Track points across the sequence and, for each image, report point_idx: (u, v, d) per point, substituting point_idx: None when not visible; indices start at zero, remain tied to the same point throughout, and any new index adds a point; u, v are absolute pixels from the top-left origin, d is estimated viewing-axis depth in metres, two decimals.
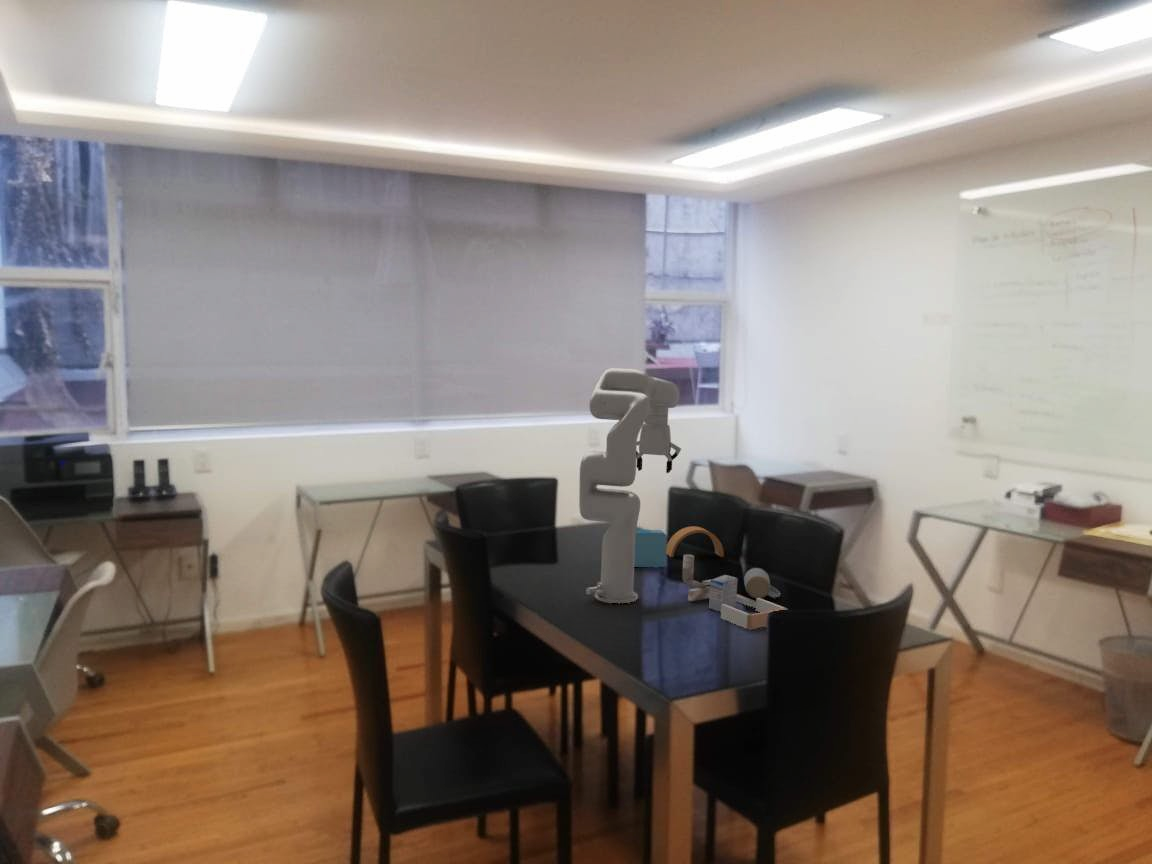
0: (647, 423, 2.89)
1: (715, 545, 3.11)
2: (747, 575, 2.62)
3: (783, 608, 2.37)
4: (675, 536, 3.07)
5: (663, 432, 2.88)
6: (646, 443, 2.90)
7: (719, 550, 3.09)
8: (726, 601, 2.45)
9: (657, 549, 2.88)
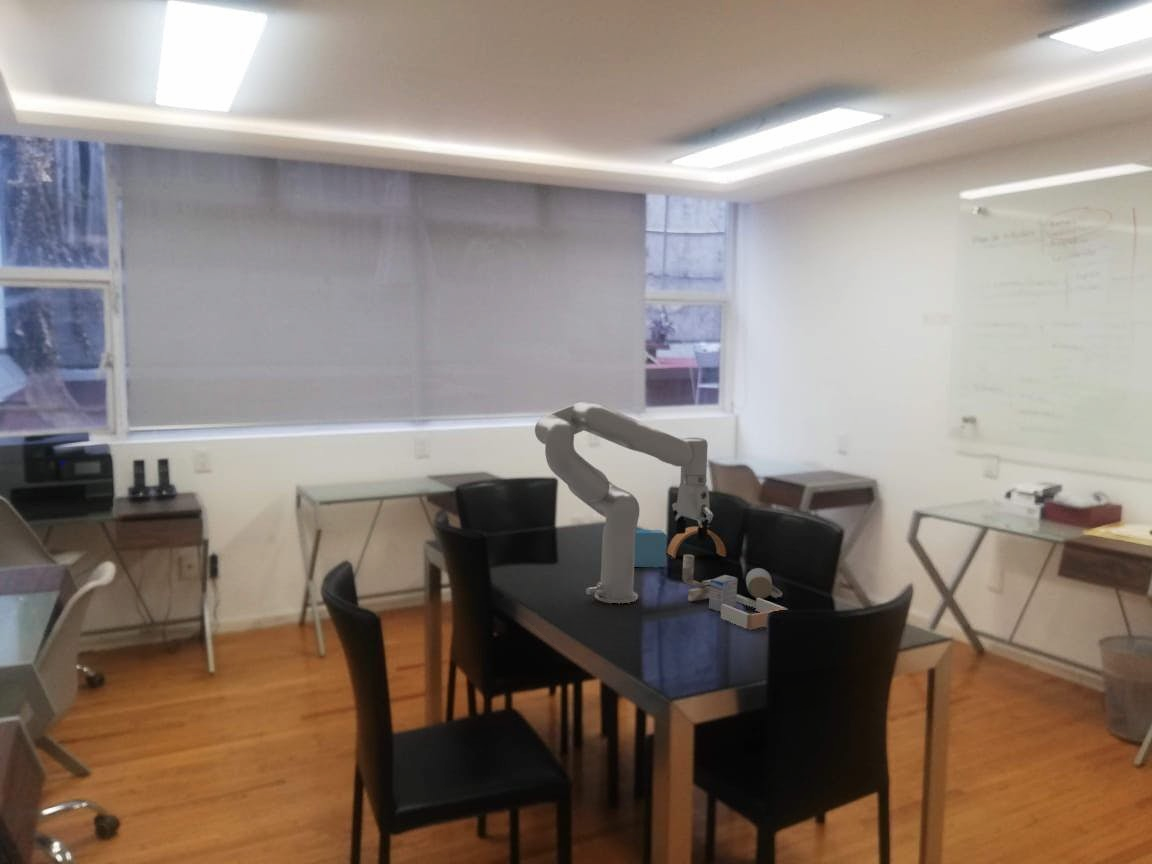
0: None
1: (717, 545, 3.11)
2: (749, 575, 2.62)
3: (783, 608, 2.37)
4: (677, 536, 3.07)
5: None
6: None
7: (721, 550, 3.09)
8: (726, 601, 2.45)
9: (657, 550, 2.88)
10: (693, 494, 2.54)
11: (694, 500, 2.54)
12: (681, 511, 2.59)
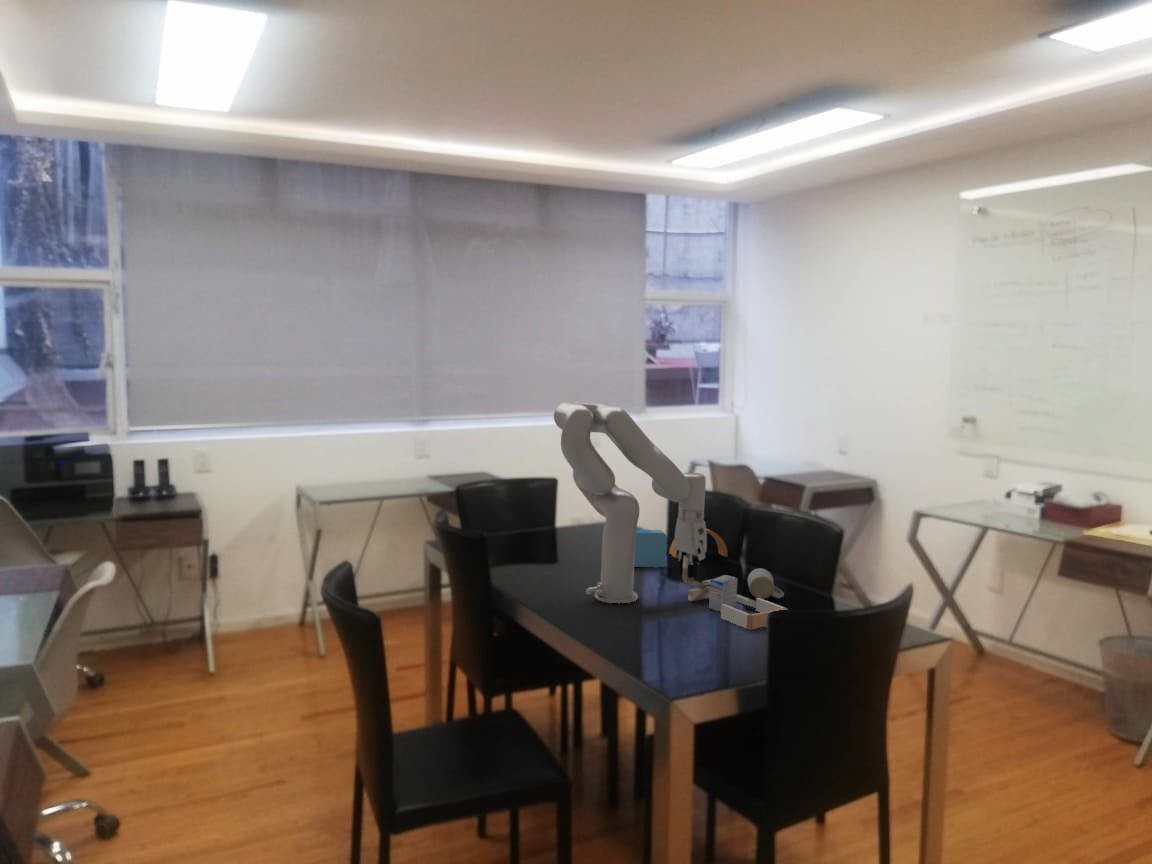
0: (703, 518, 2.58)
1: (719, 545, 3.11)
2: (751, 575, 2.62)
3: (783, 608, 2.37)
4: None
5: None
6: None
7: (723, 550, 3.09)
8: (726, 601, 2.45)
9: (657, 549, 2.88)
10: (691, 529, 2.55)
11: (691, 536, 2.55)
12: (678, 545, 2.60)
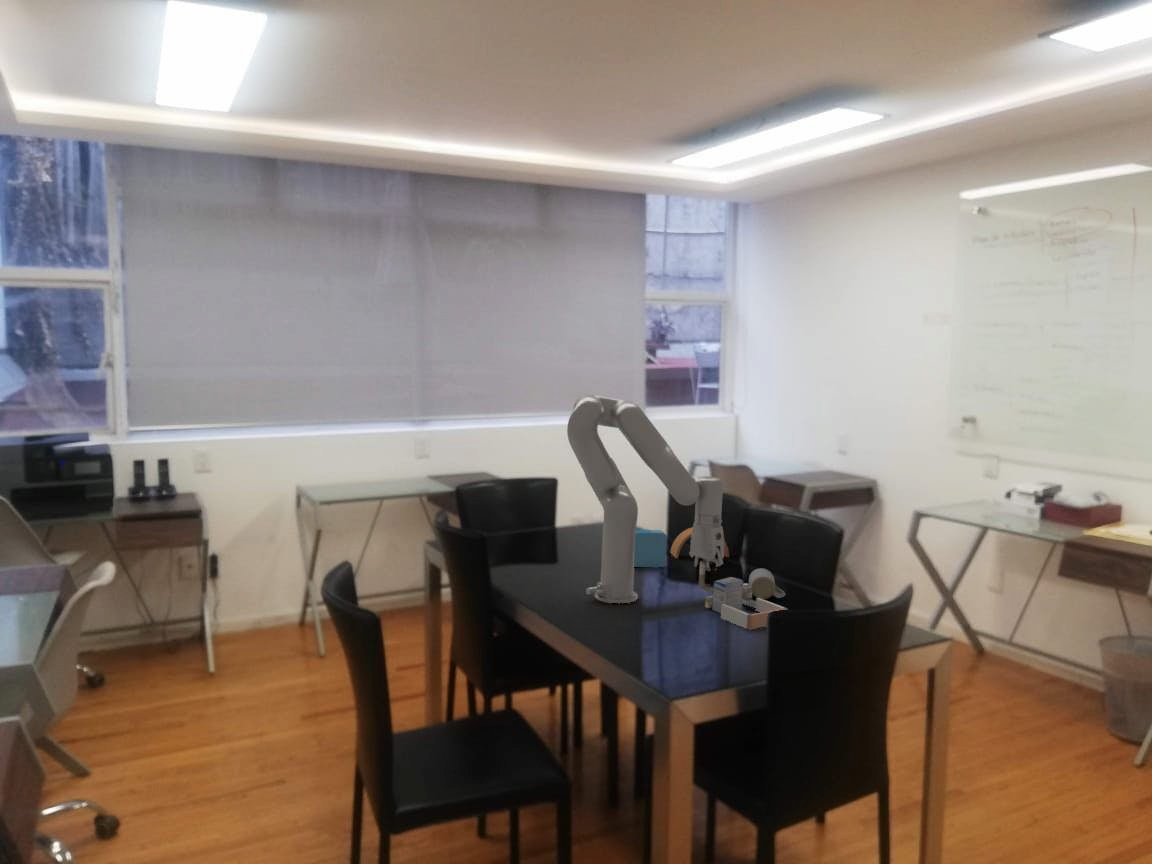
0: (720, 523, 2.52)
1: None
2: (752, 575, 2.62)
3: (783, 608, 2.37)
4: (680, 536, 3.07)
5: None
6: None
7: (724, 550, 3.09)
8: (729, 603, 2.43)
9: (657, 549, 2.88)
10: (708, 535, 2.49)
11: (708, 541, 2.49)
12: (695, 551, 2.54)
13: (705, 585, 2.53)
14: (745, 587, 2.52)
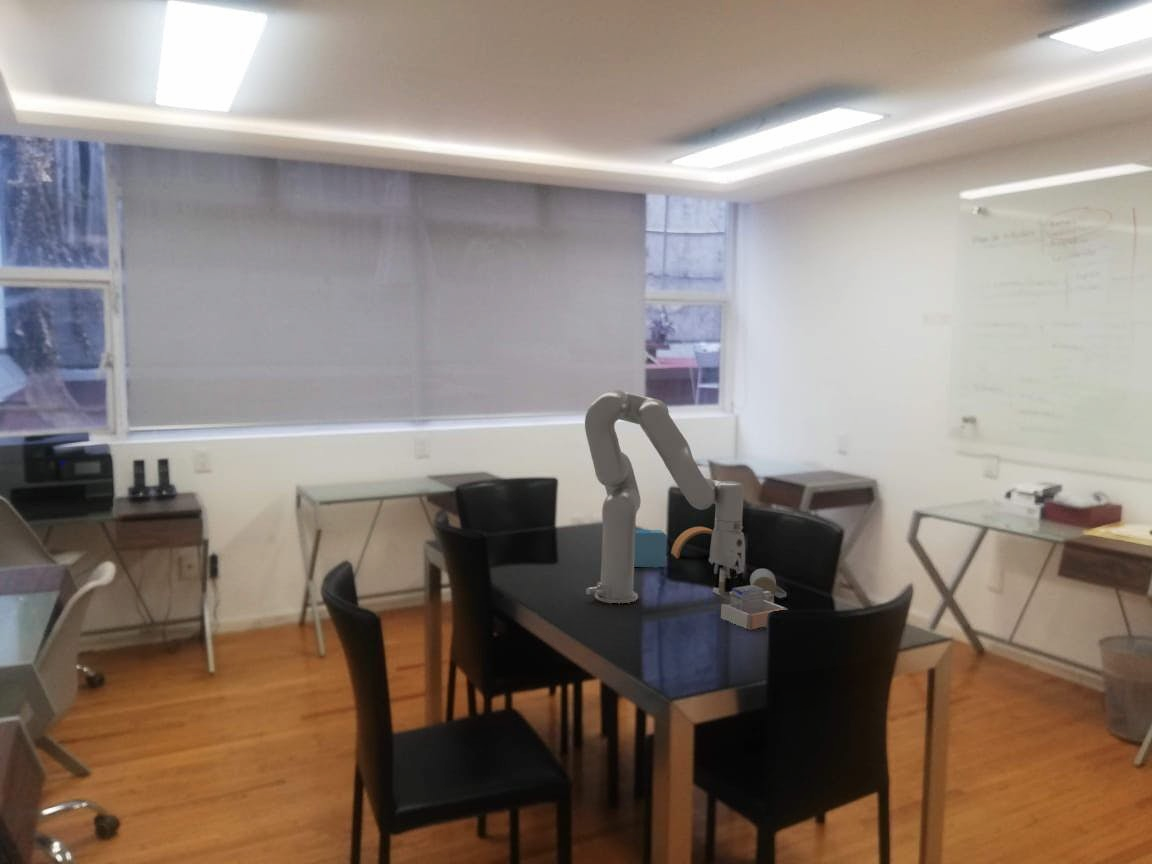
0: (741, 529, 2.45)
1: None
2: (753, 575, 2.62)
3: (783, 608, 2.37)
4: (681, 536, 3.07)
5: None
6: None
7: None
8: (746, 612, 2.36)
9: (657, 549, 2.88)
10: (728, 541, 2.42)
11: (729, 548, 2.42)
12: (714, 557, 2.47)
13: (725, 593, 2.46)
14: (766, 595, 2.45)
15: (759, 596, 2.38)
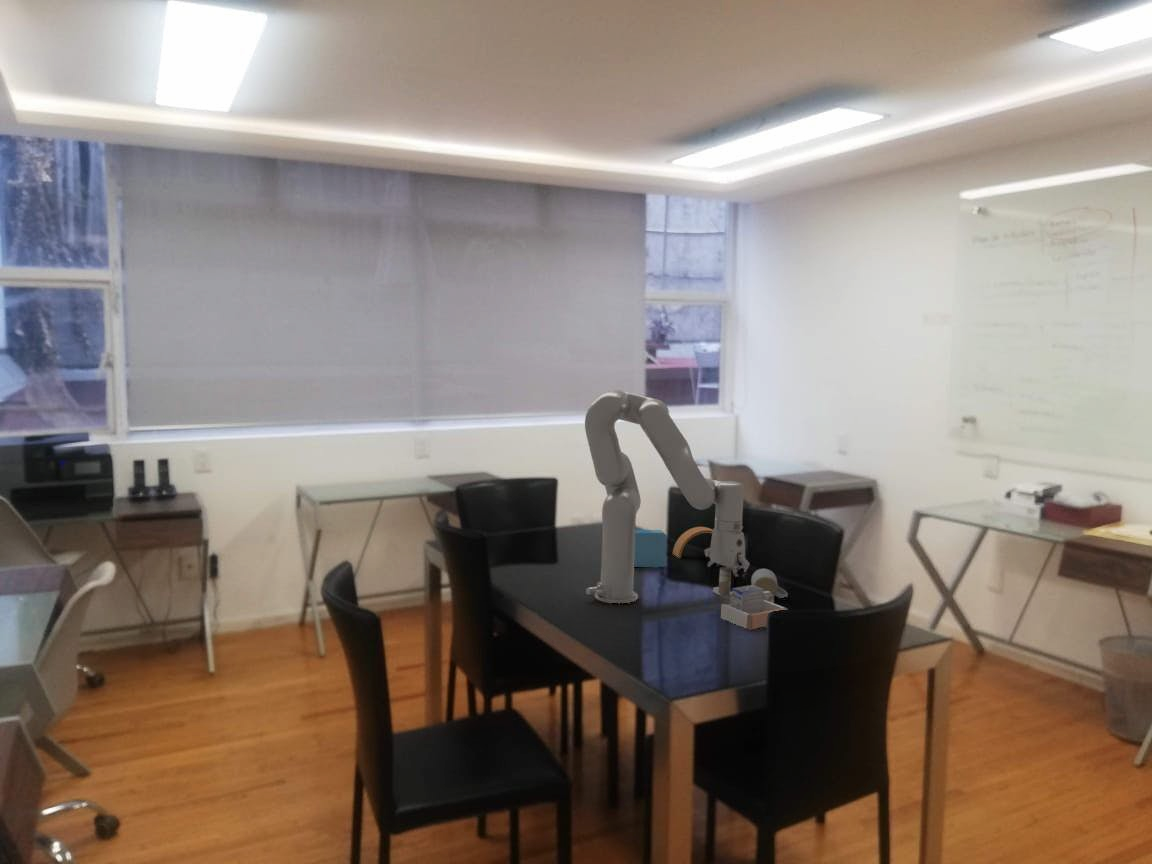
0: (741, 529, 2.45)
1: None
2: (754, 576, 2.62)
3: (783, 608, 2.37)
4: (682, 536, 3.07)
5: None
6: None
7: None
8: (746, 612, 2.36)
9: (657, 550, 2.88)
10: (728, 541, 2.42)
11: (729, 548, 2.42)
12: (715, 557, 2.47)
13: (725, 593, 2.46)
14: (766, 595, 2.45)
15: (759, 596, 2.38)
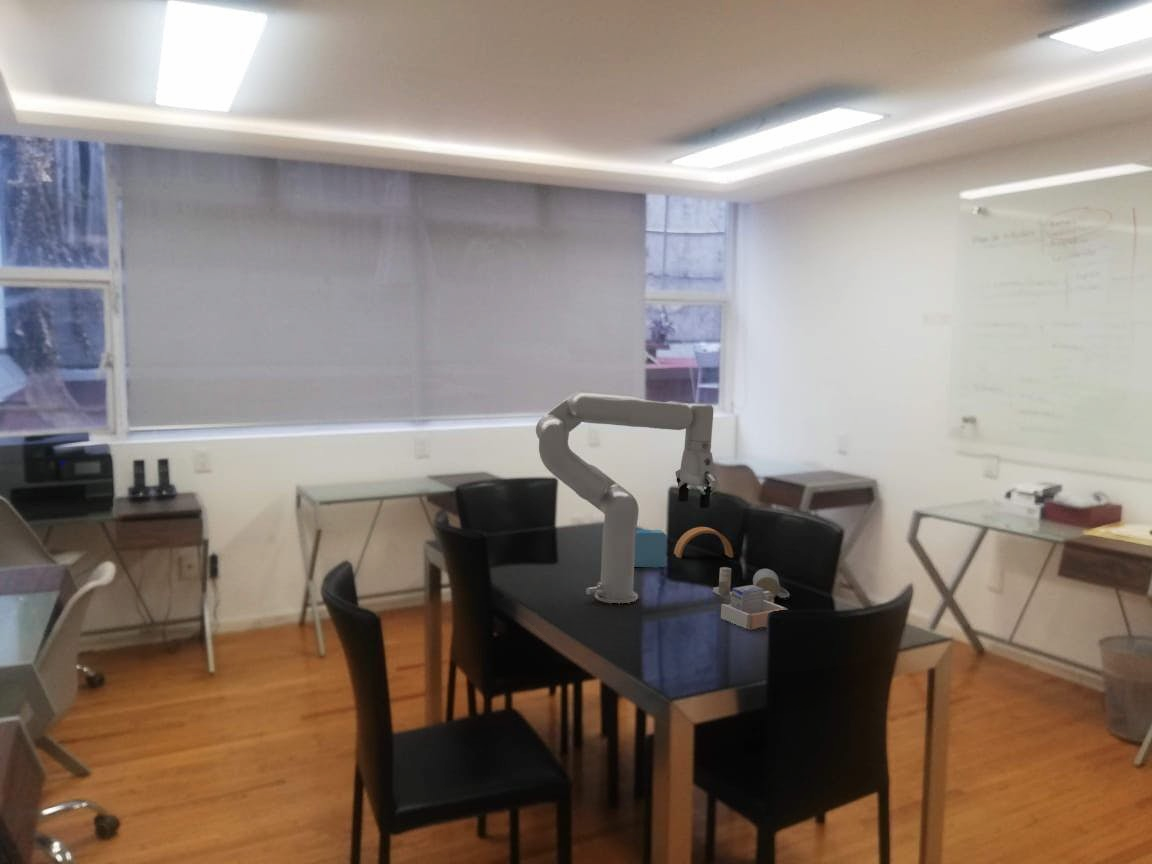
0: (710, 450, 2.52)
1: (725, 546, 3.11)
2: (756, 576, 2.62)
3: (783, 608, 2.37)
4: (683, 536, 3.07)
5: None
6: None
7: (728, 551, 3.08)
8: (746, 612, 2.36)
9: (657, 550, 2.88)
10: (697, 460, 2.49)
11: (697, 467, 2.49)
12: (684, 477, 2.54)
13: (725, 593, 2.46)
14: (766, 595, 2.45)
15: (759, 596, 2.38)
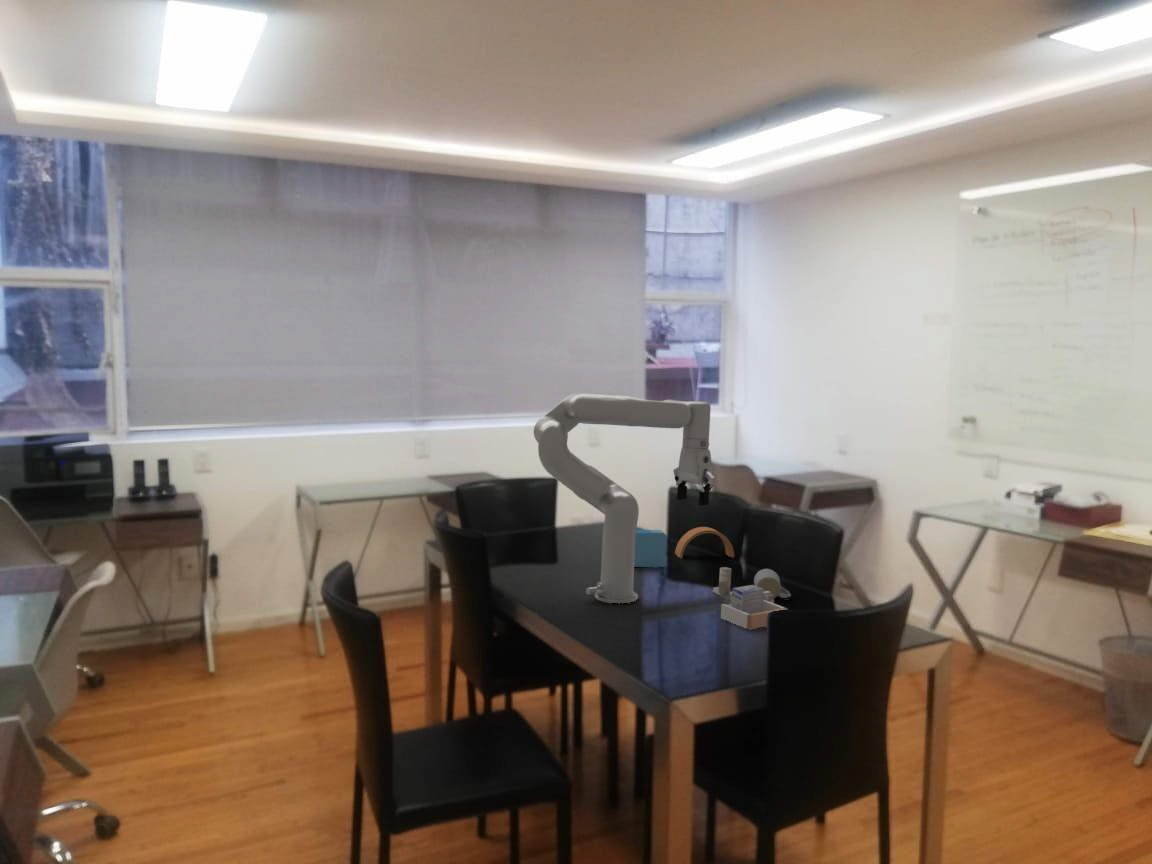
0: None
1: (726, 546, 3.11)
2: (757, 576, 2.61)
3: (783, 608, 2.37)
4: (684, 536, 3.07)
5: None
6: None
7: (729, 551, 3.08)
8: (746, 612, 2.36)
9: (657, 550, 2.88)
10: (695, 458, 2.50)
11: (695, 464, 2.50)
12: (682, 475, 2.55)
13: (725, 593, 2.46)
14: (766, 595, 2.45)
15: (759, 596, 2.38)
